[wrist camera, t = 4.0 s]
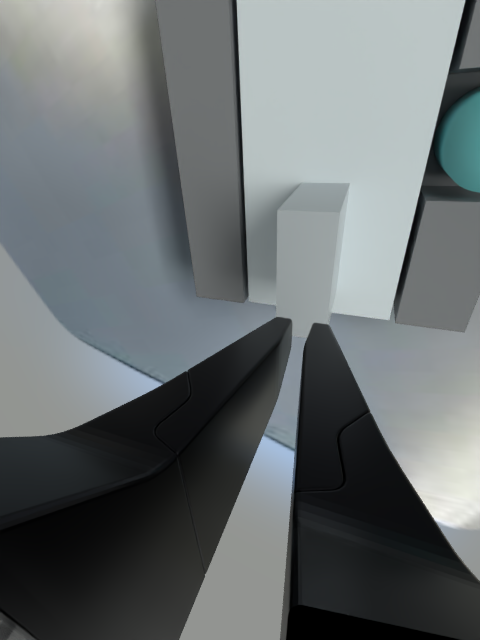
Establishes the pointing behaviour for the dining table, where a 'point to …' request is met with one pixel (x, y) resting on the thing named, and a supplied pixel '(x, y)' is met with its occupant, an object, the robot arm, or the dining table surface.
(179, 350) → the dining table surface
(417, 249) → the filter housing
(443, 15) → the white stepped block
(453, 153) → the teal egg-shaped capsule
